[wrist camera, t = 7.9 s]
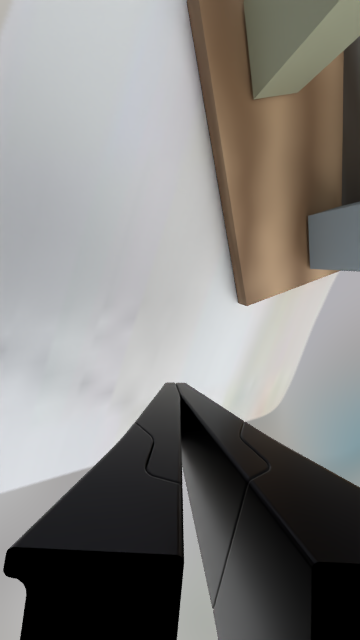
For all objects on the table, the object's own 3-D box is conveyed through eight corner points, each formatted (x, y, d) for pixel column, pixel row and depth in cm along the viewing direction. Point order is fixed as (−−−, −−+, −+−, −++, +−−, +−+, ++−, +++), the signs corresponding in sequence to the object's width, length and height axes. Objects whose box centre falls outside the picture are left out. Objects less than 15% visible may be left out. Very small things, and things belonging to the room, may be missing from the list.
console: (238, 303, 22) (276, 316, 17) (186, 2, 14) (227, -144, 9) (347, 262, 24) (407, 263, 19) (353, -5, 17) (456, -119, 12)
